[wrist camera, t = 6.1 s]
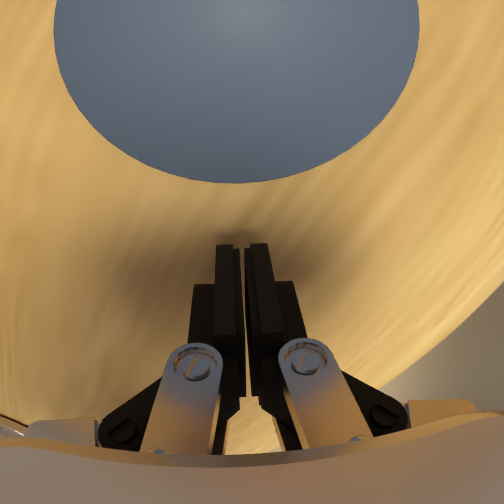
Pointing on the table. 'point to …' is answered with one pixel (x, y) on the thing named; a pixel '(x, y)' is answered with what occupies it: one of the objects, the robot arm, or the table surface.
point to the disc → (235, 79)
